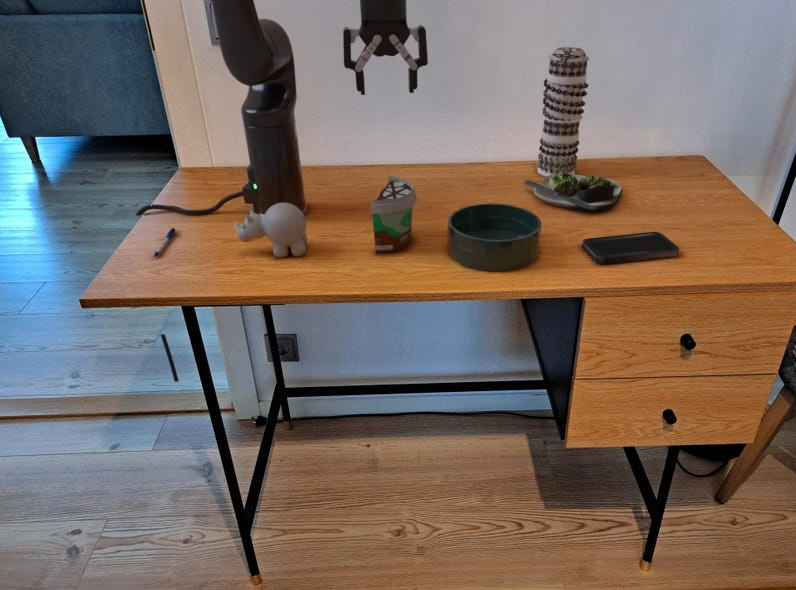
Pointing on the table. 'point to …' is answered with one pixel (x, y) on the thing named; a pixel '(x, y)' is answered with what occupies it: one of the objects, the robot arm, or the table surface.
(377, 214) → the food container
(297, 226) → the round bodied animal figurine
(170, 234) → the ballpoint pen
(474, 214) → the bowl
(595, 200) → the salad plate
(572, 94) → the decorative candle
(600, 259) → the phone
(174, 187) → the table surface
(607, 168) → the table surface
